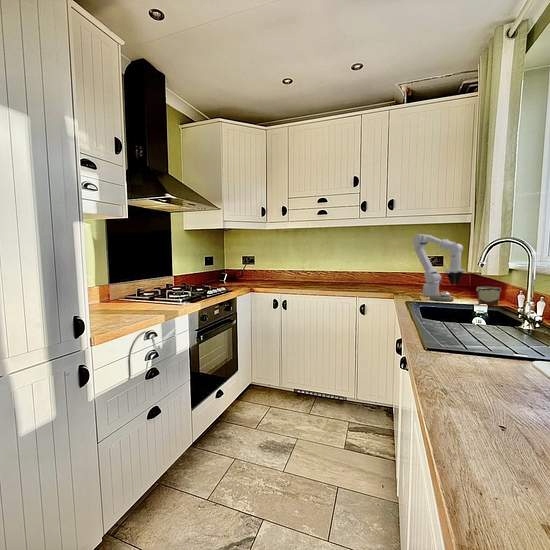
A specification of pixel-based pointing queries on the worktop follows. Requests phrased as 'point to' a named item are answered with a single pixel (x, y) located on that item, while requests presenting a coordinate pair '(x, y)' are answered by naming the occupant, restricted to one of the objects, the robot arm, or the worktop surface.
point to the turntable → (441, 298)
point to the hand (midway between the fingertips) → (454, 284)
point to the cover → (445, 294)
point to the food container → (488, 295)
